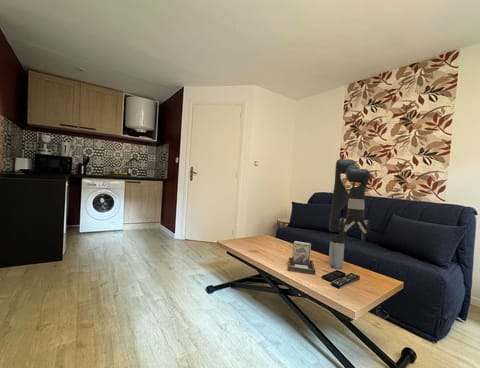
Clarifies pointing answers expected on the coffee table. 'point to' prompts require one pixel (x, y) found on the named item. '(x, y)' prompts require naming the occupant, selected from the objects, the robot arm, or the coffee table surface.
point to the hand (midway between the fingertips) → (353, 239)
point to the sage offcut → (301, 266)
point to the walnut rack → (301, 270)
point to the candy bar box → (301, 252)
